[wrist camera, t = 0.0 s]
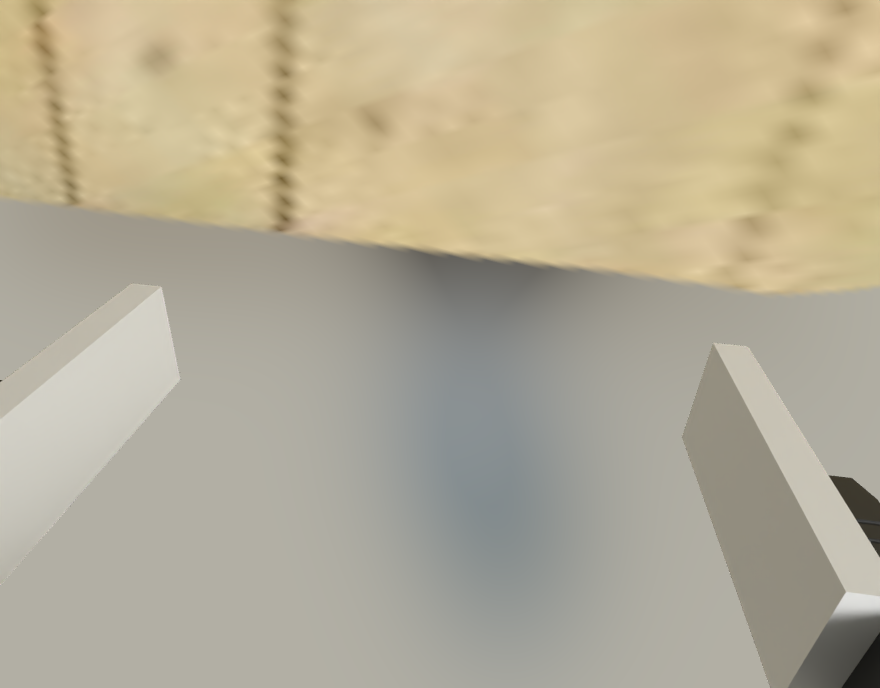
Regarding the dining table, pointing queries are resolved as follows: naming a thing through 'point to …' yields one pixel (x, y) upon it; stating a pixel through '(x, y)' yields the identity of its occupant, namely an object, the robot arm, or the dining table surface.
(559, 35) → the dining table surface
